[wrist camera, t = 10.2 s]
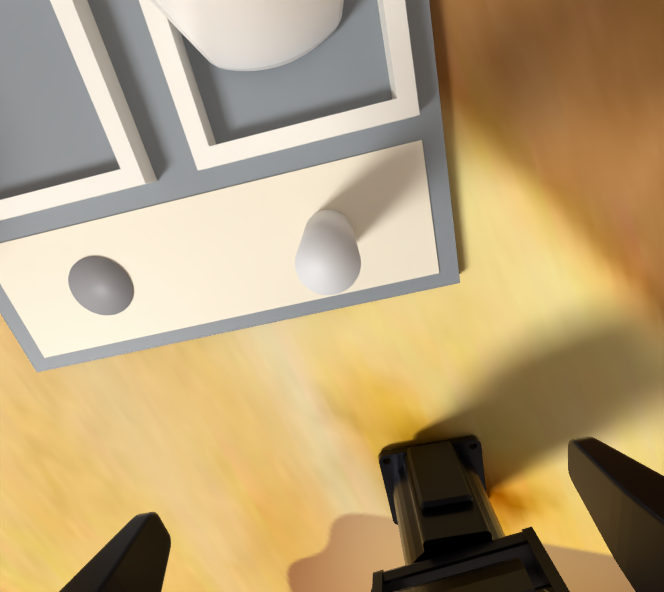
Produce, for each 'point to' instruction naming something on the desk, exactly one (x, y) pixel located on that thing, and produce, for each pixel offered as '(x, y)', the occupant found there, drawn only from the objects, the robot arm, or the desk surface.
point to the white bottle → (253, 29)
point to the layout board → (210, 177)
